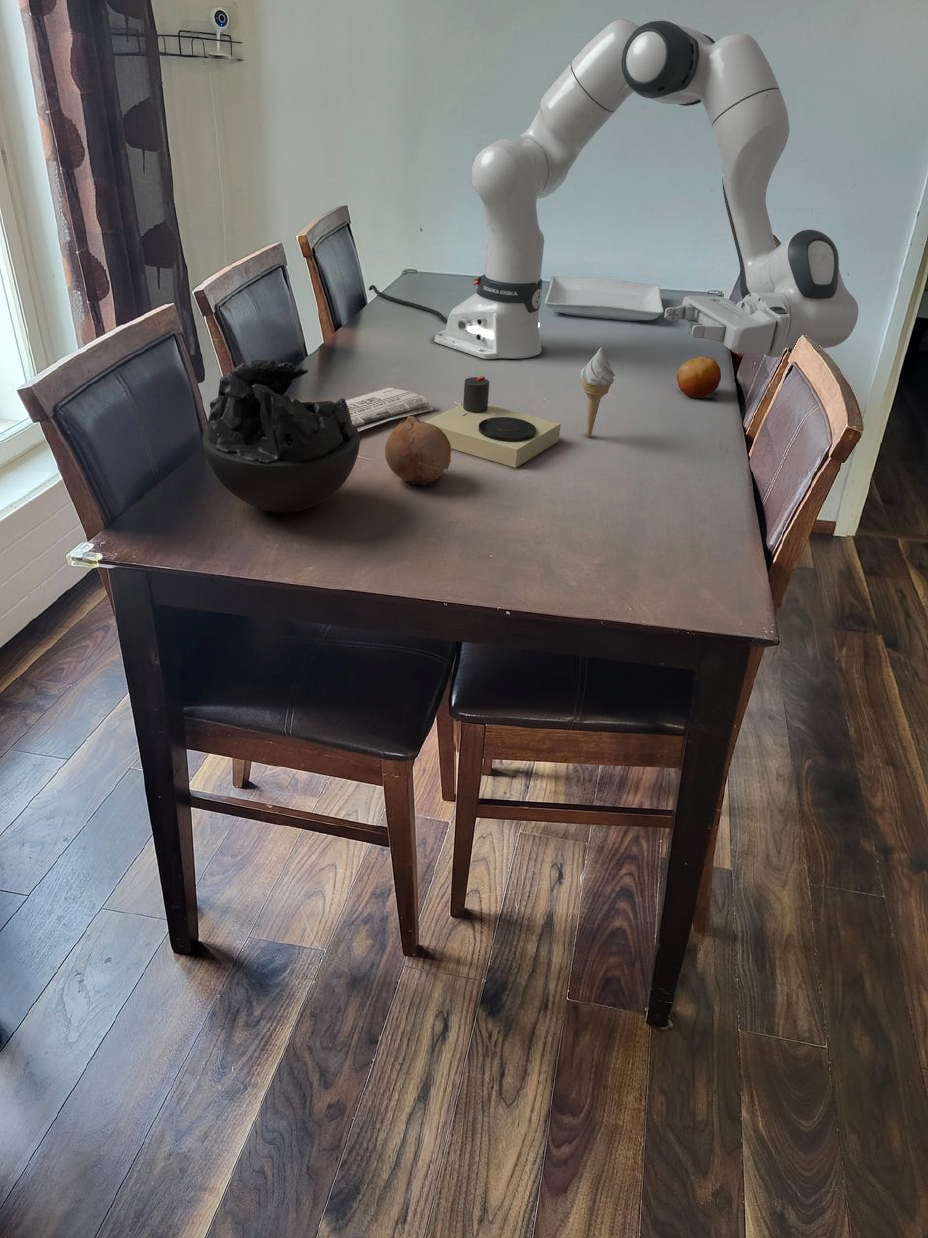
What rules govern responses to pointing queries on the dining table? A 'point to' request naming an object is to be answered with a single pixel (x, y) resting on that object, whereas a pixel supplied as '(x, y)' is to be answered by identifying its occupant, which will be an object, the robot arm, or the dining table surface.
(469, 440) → the hob
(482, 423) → the burner
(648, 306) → the square plate
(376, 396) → the newspaper
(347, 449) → the coal bowl
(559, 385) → the dining table surface
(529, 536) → the dining table surface
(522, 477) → the dining table surface
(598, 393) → the ice cream cone
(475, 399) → the hob knob
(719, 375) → the fruit
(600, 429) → the dining table surface
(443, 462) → the onion
